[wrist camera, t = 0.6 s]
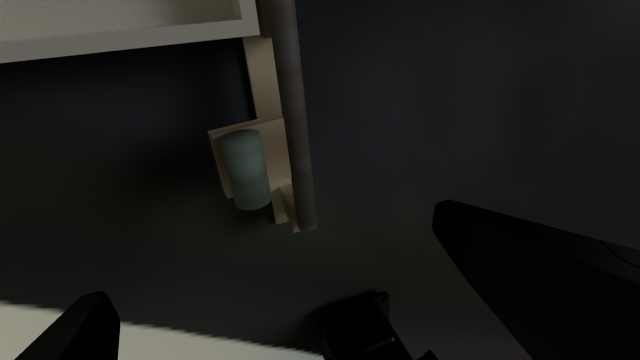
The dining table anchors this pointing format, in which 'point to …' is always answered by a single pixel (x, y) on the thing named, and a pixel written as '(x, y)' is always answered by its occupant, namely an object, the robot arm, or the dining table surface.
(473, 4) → the dining table surface
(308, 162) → the lever
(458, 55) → the dining table surface
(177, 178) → the dining table surface
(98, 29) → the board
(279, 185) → the catapult stand
